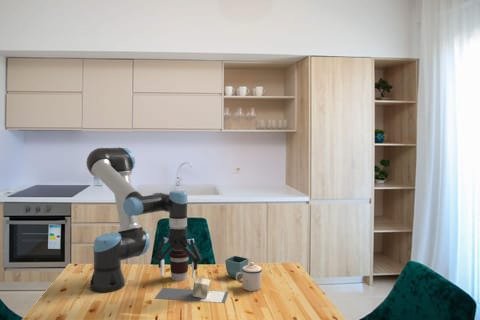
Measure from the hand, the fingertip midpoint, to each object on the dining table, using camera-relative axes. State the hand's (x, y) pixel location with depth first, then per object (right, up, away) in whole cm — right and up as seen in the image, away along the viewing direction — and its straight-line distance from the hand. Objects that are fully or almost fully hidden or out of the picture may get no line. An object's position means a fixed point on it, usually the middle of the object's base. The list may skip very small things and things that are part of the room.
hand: (177, 276), depth 166 cm
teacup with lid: (+31, -9, +11) cm, 34 cm away
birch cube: (+7, -4, -1) cm, 9 cm away
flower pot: (+25, -8, +25) cm, 36 cm away
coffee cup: (-3, -8, +20) cm, 21 cm away
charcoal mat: (+6, -9, 0) cm, 11 cm away
